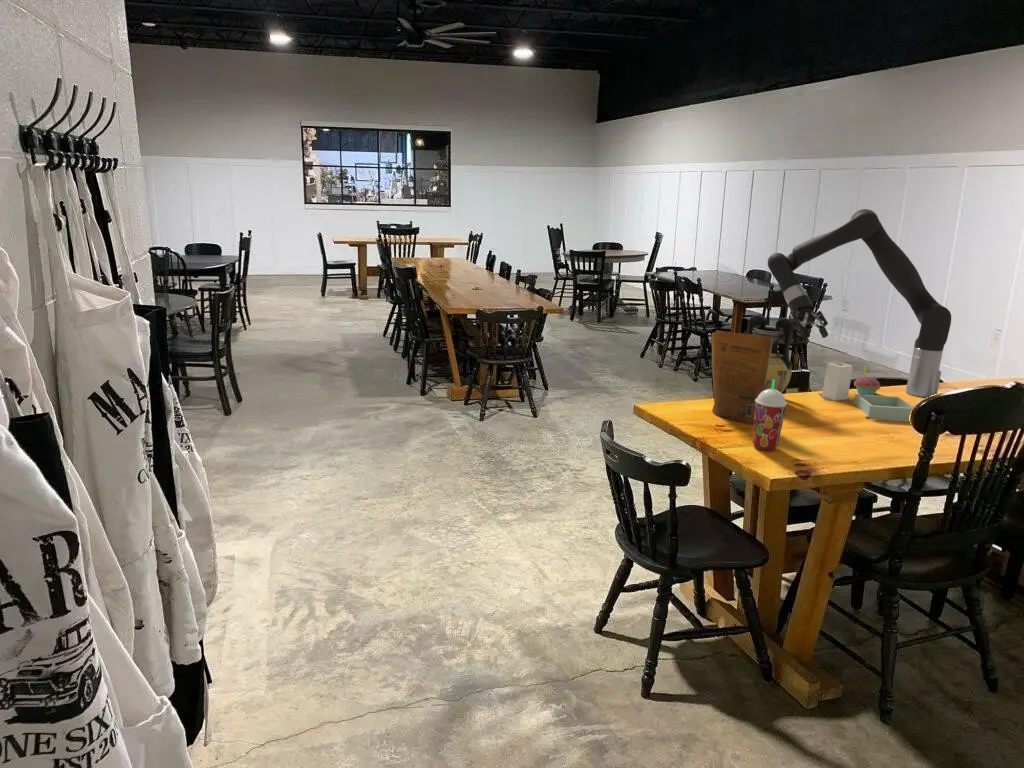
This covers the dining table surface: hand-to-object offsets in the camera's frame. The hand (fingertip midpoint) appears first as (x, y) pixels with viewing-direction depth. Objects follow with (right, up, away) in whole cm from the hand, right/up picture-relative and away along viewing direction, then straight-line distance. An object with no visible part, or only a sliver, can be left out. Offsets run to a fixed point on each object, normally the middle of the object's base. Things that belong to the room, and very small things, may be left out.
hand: (816, 337), depth 260 cm
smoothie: (-37, -35, -54) cm, 74 cm away
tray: (+14, -27, -18) cm, 35 cm away
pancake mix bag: (-38, -28, -29) cm, 56 cm away
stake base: (+4, -23, -5) cm, 23 cm away
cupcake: (+18, -21, +2) cm, 28 cm away
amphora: (-23, -23, -9) cm, 34 cm away
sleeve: (+4, -22, -5) cm, 23 cm away
